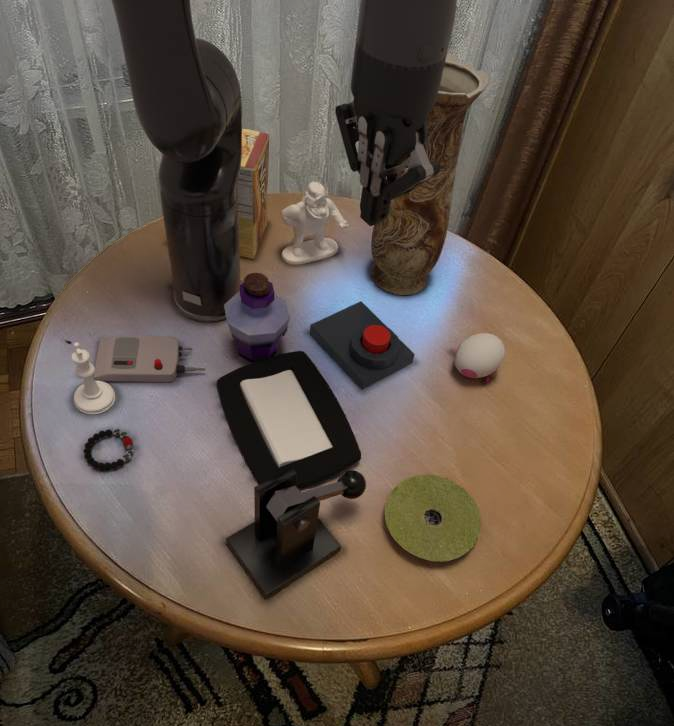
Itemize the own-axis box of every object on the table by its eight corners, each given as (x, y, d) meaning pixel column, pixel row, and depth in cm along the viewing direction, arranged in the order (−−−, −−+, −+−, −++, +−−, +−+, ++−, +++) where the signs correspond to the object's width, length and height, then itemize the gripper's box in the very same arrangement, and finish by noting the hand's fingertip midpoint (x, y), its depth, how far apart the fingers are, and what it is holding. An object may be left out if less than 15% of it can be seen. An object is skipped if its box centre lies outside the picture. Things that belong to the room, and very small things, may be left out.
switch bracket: (299, 499, 77) (305, 443, 67) (340, 550, 73) (352, 499, 64) (226, 543, 73) (220, 490, 63) (266, 599, 69) (267, 553, 60)
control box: (309, 333, 91) (311, 315, 88) (359, 309, 95) (362, 291, 92) (361, 389, 87) (365, 372, 84) (412, 362, 90) (417, 345, 87)
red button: (356, 340, 87) (358, 331, 86) (377, 330, 89) (379, 321, 87) (373, 357, 86) (375, 348, 84) (393, 347, 87) (396, 338, 86)
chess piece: (80, 419, 80) (59, 365, 71) (69, 390, 82) (48, 335, 74) (120, 407, 81) (104, 353, 73) (108, 378, 83) (92, 323, 75)
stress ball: (473, 364, 96) (464, 322, 92) (519, 370, 90) (511, 326, 86) (440, 388, 92) (429, 345, 89) (485, 396, 86) (476, 351, 83)
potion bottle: (300, 356, 89) (306, 290, 79) (246, 381, 85) (244, 315, 76) (267, 316, 92) (268, 248, 82) (213, 339, 89) (207, 270, 79)
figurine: (293, 275, 98) (297, 206, 88) (275, 248, 101) (277, 178, 91) (347, 261, 101) (356, 192, 91) (328, 234, 104) (335, 166, 94)
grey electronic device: (87, 343, 86) (82, 327, 84) (207, 344, 88) (205, 329, 86) (79, 381, 83) (74, 366, 80) (205, 382, 85) (203, 367, 82)
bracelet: (140, 462, 77) (139, 457, 76) (91, 478, 75) (89, 474, 74) (126, 426, 80) (124, 421, 79) (79, 441, 78) (77, 436, 77)
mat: (362, 512, 76) (364, 504, 75) (432, 467, 81) (435, 458, 79) (426, 586, 72) (429, 580, 70) (496, 534, 77) (501, 526, 75)
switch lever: (345, 481, 75) (358, 462, 73) (362, 501, 73) (376, 482, 72) (260, 505, 65) (273, 484, 63) (279, 529, 64) (292, 508, 62)
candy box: (242, 219, 104) (240, 126, 91) (268, 224, 103) (270, 132, 91) (228, 255, 99) (224, 162, 86) (255, 260, 99) (255, 168, 86)
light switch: (206, 371, 83) (306, 337, 86) (209, 385, 86) (306, 351, 89) (262, 497, 74) (372, 454, 77) (264, 508, 76) (370, 466, 80)
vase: (352, 276, 99) (384, 72, 74) (390, 242, 104) (431, 41, 79) (410, 308, 96) (464, 108, 71) (445, 271, 101) (506, 73, 77)
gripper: (491, 67, 52) (441, 244, 66) (386, -4, 57) (361, 175, 71) (421, 89, 49) (384, 270, 63) (317, 12, 54) (305, 196, 68)
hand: (372, 219), depth 67 cm, fingers closed
